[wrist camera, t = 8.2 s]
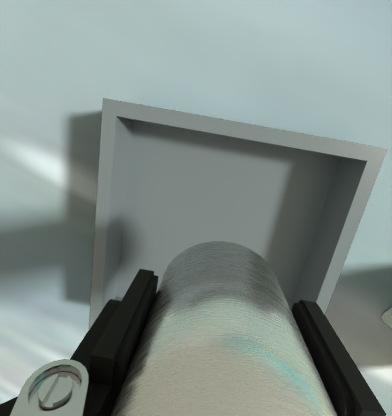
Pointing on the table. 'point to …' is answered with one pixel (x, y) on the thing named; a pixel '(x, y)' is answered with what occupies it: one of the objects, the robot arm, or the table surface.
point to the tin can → (221, 343)
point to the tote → (224, 198)
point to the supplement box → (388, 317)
